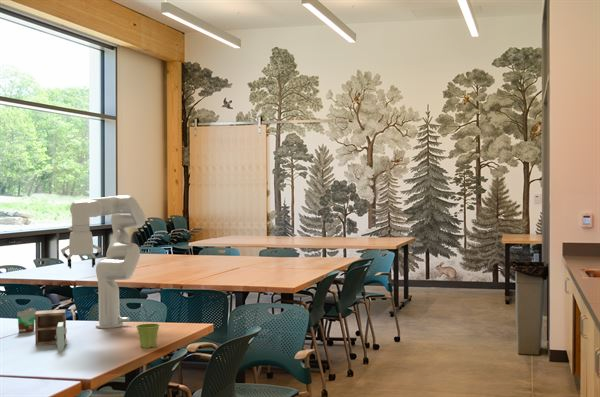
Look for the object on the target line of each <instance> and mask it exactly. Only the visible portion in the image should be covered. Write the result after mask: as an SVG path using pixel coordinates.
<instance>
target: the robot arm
mask: <svg viewBox="0 0 600 397" xmlns="http://www.w3.org/2000/svg"><path fill="white" fill-rule="evenodd" d="M69 212H70V213H71V226H69V227H68V230H69V231H71V232H70V234H69V239H68V240H69V242H68V245H67V246H64V247H63V248H62V249H60V252H61V254H62V256H63V257H64V258H66V259H67V267H69V269H72V259H71V257H72V256H82V255H83V256H86V255H87V256H89V255H90V256H91V267H92V268H95V273H96V278H97V284H98V285H97V287H98V288H97V289H98V323H96V324H95V327H96V328H97V329H114V328H121V327H123V325H124V323H125V322H130V320H131V319H130V317H126V316H125V317H122V316H121V315H120V314H121V313H120V287H119V285H118V284H117V282H116V281H128V280H129V279H131V278H132V276H133V275H134V272H135V269H136V267H137V265H138V262H139V260H140V256H141V255H140V254H141V250H140V246H139V245H138V244H136V243H134V242H131V236H130V234H129V232H128V231H127V230H126V228H127V229H128V228H129V229H130V228H131V229H132V228H133V229H134V228H137V229H138V228H142V227H143V226H144V225H145V223H146V215H145V213H144V211H143V209H142V208H141V206H140V203H139V202H138V200H136V198H135V197H134V196H132V195H114V196H113V195H111V196H106V197H105V196H104V197H96V198H87V199H79V200H78V199H77V200H75V201H73V202H71V204H70V207H69ZM109 215H111V217H110V222H111V227H112V234H113V236H112V239H111V241H110V243H109V246H108V248H107V251H106V254H105V257H106V259H101V260H99V261H98V263H97V264H96V258H97V257H98V256H99V255H100V253H101V252H102V247H99V246H98V245H95V244H94V240H93V234H92V233H93V232H92V231H91V229H90V228H91V227H90V226H91V225H90V224H91V223H90V218H97V217H99V216H102V217H103V216H109ZM94 249H96V250H97V251H96V252H95V253H94ZM67 250H68V251H69V254H67V253H66V251H67Z"/></svg>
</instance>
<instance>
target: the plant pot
mask: <svg viewBox="0 0 600 397" xmlns="http://www.w3.org/2000/svg"><path fill="white" fill-rule="evenodd" d="M159 327H160V324H159V323H141V324H138V325H136V327H135V328H137V332H138V337H139V343H140V347H141V348H143V349H150V348H155V347H156V346H157V339H158V333H159V332H158V331H159V329H160V328H159Z"/></svg>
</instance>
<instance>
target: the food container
mask: <svg viewBox="0 0 600 397" xmlns="http://www.w3.org/2000/svg"><path fill="white" fill-rule="evenodd" d="M36 311H37V310H36V308H35V307H34V308H33V307H26V309H25V310H22V311H17V314H16V315H17V325H18V328H17V329H18V334H27V333H33V332H35V313H36Z"/></svg>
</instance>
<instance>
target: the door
mask: <svg viewBox="0 0 600 397" xmlns="http://www.w3.org/2000/svg"><path fill="white" fill-rule="evenodd" d="M67 333H68V331H67V327H66V328H64V322H58V326H57V329H56V334H57V336H55V339H57V340H56V344H55V345H56V346H57V352H64V348H65V346H67V345H68V339H67V337H66V338H64V334H66V335H67Z"/></svg>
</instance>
